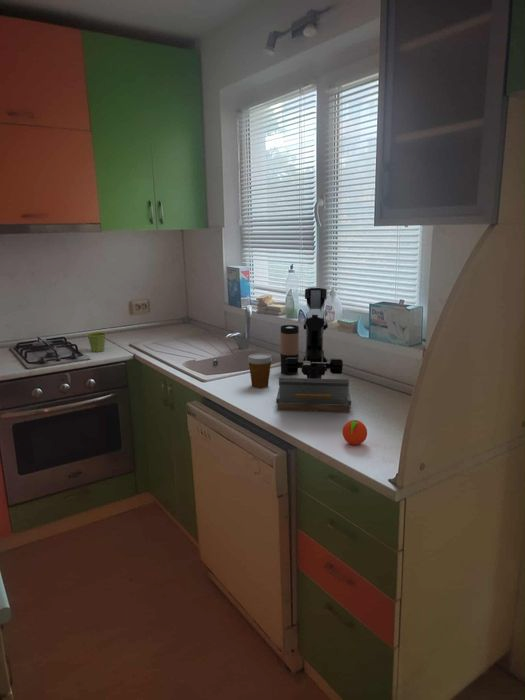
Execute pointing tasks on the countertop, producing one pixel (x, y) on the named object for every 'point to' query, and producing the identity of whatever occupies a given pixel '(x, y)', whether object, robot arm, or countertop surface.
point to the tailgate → (313, 390)
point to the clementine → (354, 432)
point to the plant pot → (97, 341)
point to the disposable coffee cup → (259, 369)
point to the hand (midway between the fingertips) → (313, 388)
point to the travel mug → (289, 345)
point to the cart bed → (313, 406)
